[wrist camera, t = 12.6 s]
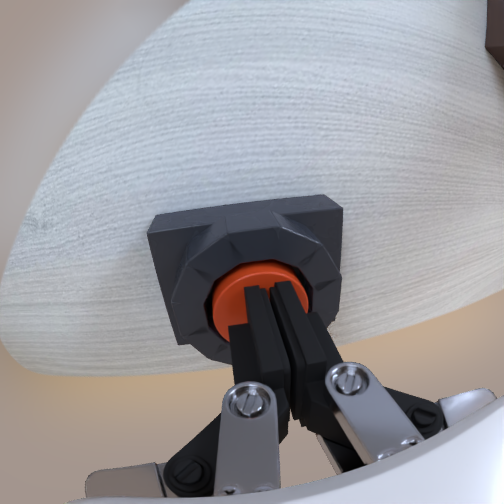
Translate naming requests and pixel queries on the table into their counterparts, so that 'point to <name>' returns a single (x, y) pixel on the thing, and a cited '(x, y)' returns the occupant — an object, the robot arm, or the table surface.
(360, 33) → the table surface
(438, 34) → the table surface
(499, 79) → the table surface
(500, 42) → the dial panel
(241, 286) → the orange button
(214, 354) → the button block
